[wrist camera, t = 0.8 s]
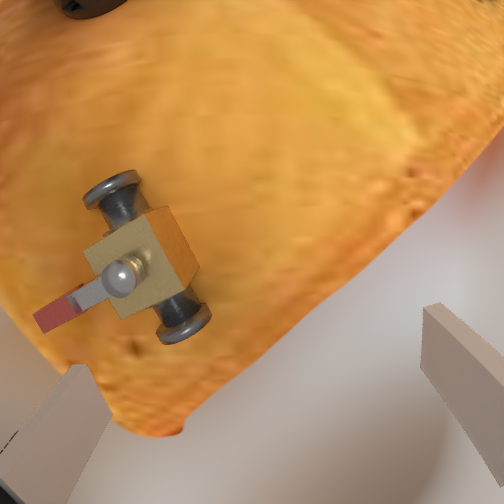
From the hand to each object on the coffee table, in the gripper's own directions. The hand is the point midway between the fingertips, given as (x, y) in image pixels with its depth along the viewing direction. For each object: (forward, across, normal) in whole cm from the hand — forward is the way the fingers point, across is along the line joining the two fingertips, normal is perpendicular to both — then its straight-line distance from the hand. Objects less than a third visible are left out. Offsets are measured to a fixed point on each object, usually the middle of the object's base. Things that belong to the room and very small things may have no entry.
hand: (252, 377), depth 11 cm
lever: (+18, -17, -1) cm, 25 cm away
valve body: (+26, -12, 0) cm, 29 cm away
